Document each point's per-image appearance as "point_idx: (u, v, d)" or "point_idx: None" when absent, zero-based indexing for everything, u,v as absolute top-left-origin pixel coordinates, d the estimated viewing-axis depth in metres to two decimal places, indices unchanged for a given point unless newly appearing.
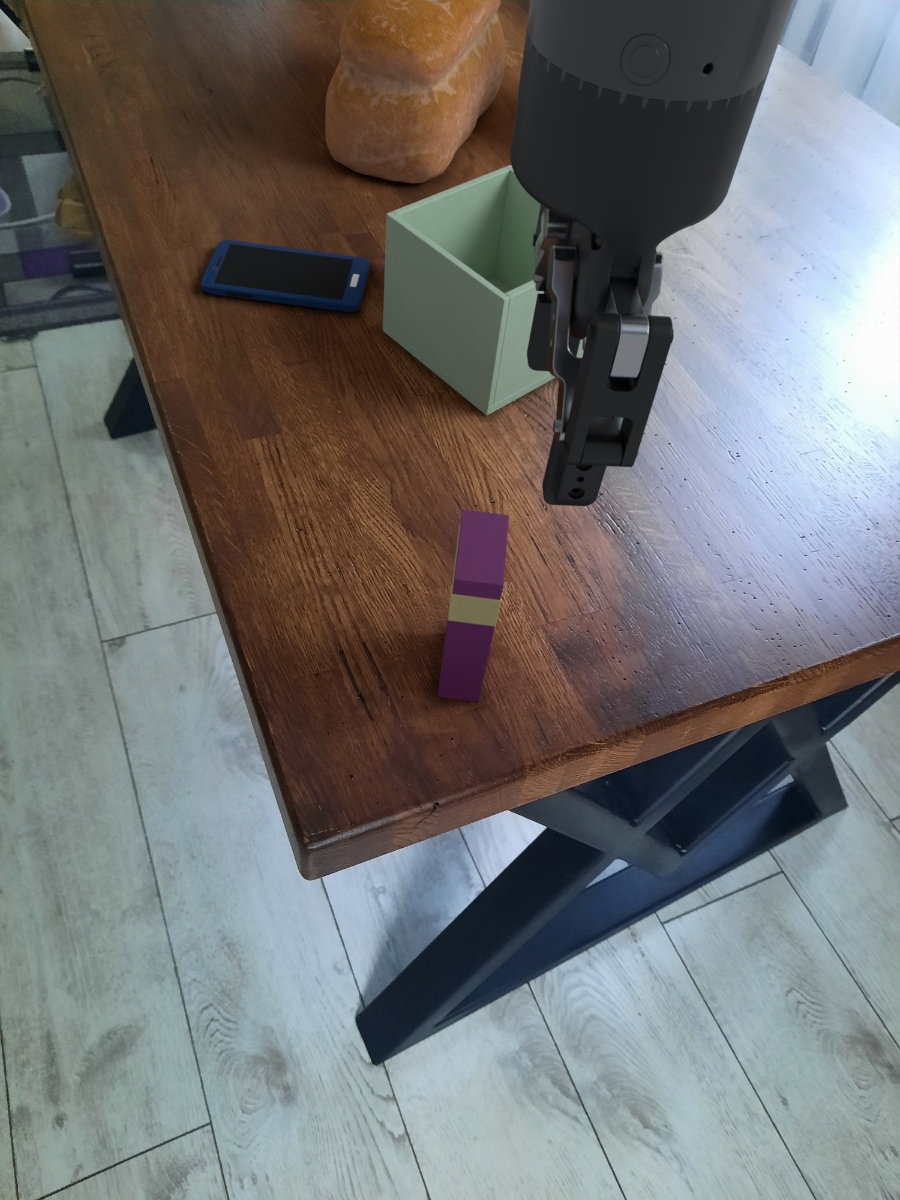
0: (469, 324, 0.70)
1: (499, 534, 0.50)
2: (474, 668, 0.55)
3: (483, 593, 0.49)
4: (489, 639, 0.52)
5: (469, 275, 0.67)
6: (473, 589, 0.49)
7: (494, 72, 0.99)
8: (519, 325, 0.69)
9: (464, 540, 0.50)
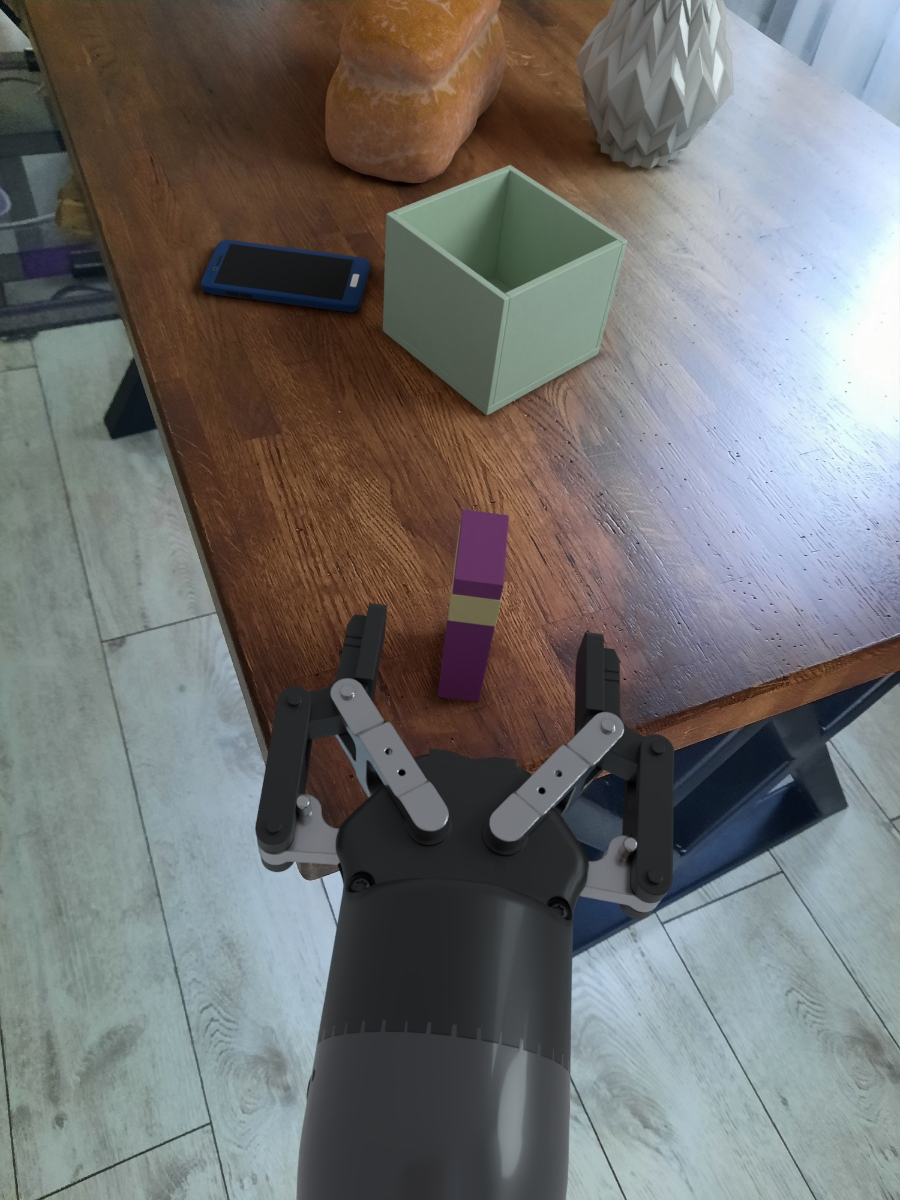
0: (469, 324, 0.70)
1: (499, 534, 0.50)
2: (474, 668, 0.55)
3: (483, 593, 0.49)
4: (489, 639, 0.52)
5: (469, 275, 0.67)
6: (473, 589, 0.49)
7: (494, 72, 0.99)
8: (519, 325, 0.69)
9: (464, 540, 0.50)
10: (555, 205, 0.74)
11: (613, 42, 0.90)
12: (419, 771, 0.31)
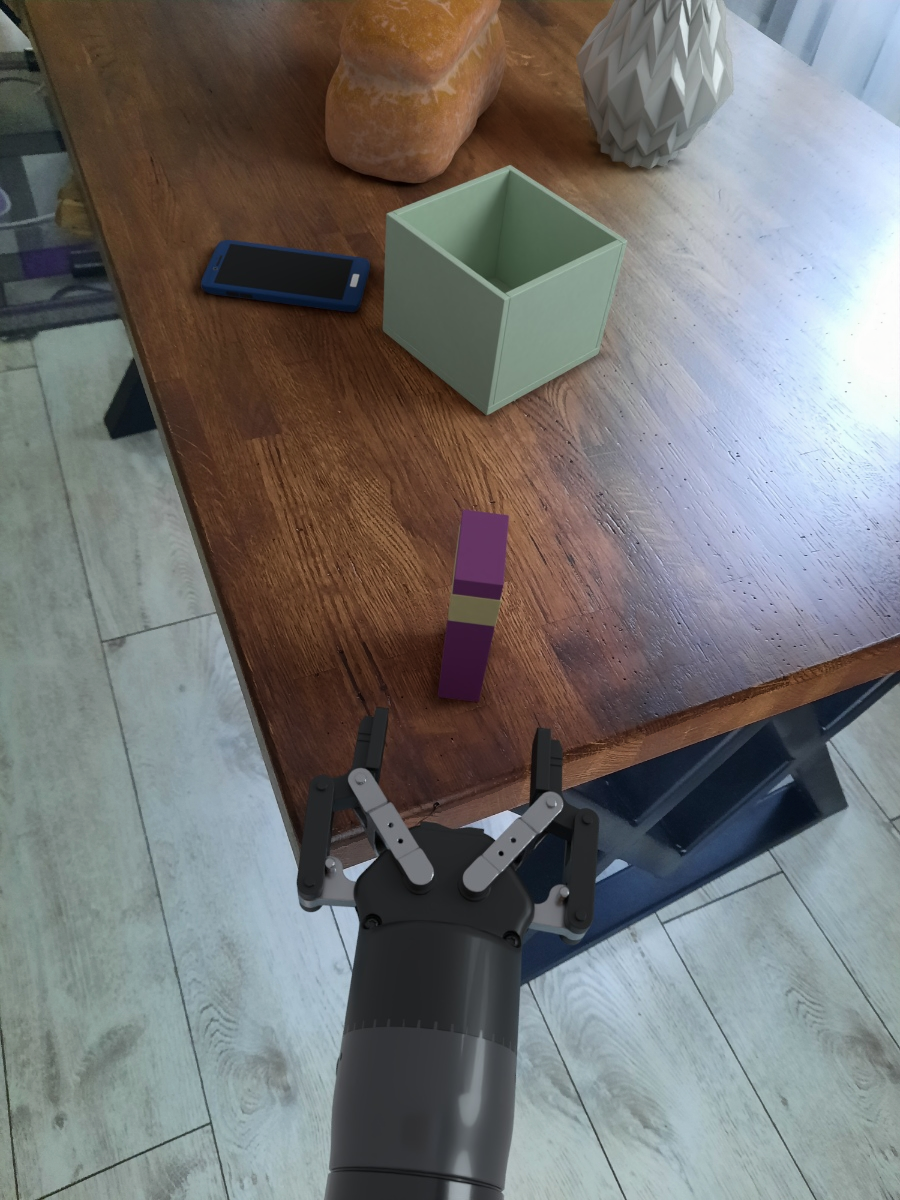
0: (469, 324, 0.70)
1: (499, 534, 0.50)
2: (474, 668, 0.55)
3: (483, 593, 0.49)
4: (489, 639, 0.52)
5: (469, 275, 0.67)
6: (473, 589, 0.49)
7: (494, 72, 0.99)
8: (519, 325, 0.69)
9: (464, 540, 0.50)
10: (555, 205, 0.74)
11: (613, 42, 0.90)
12: (413, 840, 0.43)
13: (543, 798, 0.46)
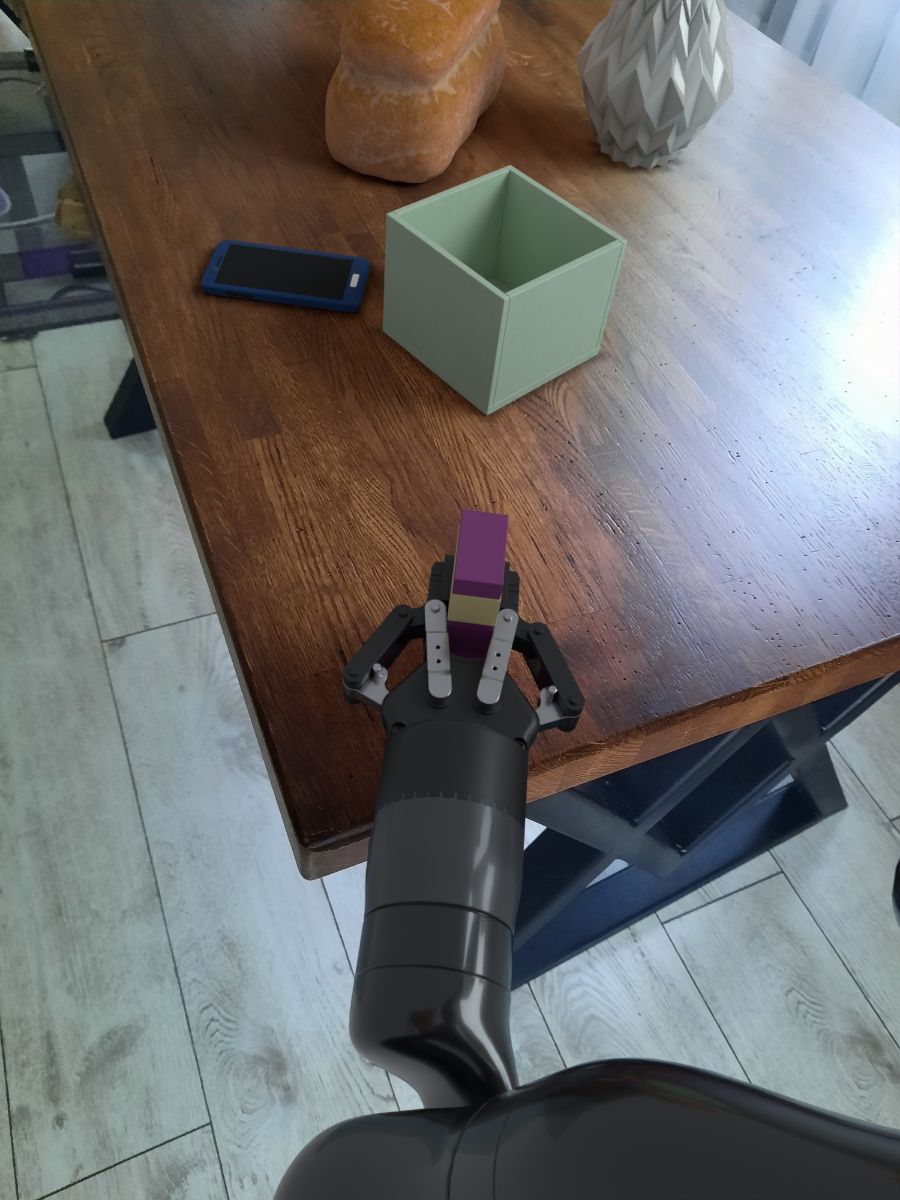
0: (469, 324, 0.70)
1: (499, 534, 0.50)
2: None
3: (483, 593, 0.49)
4: (489, 639, 0.52)
5: (469, 275, 0.67)
6: (473, 589, 0.49)
7: (494, 72, 0.99)
8: (519, 325, 0.69)
9: (463, 540, 0.50)
10: (555, 205, 0.74)
11: (613, 42, 0.90)
12: (448, 665, 0.50)
13: (501, 613, 0.53)
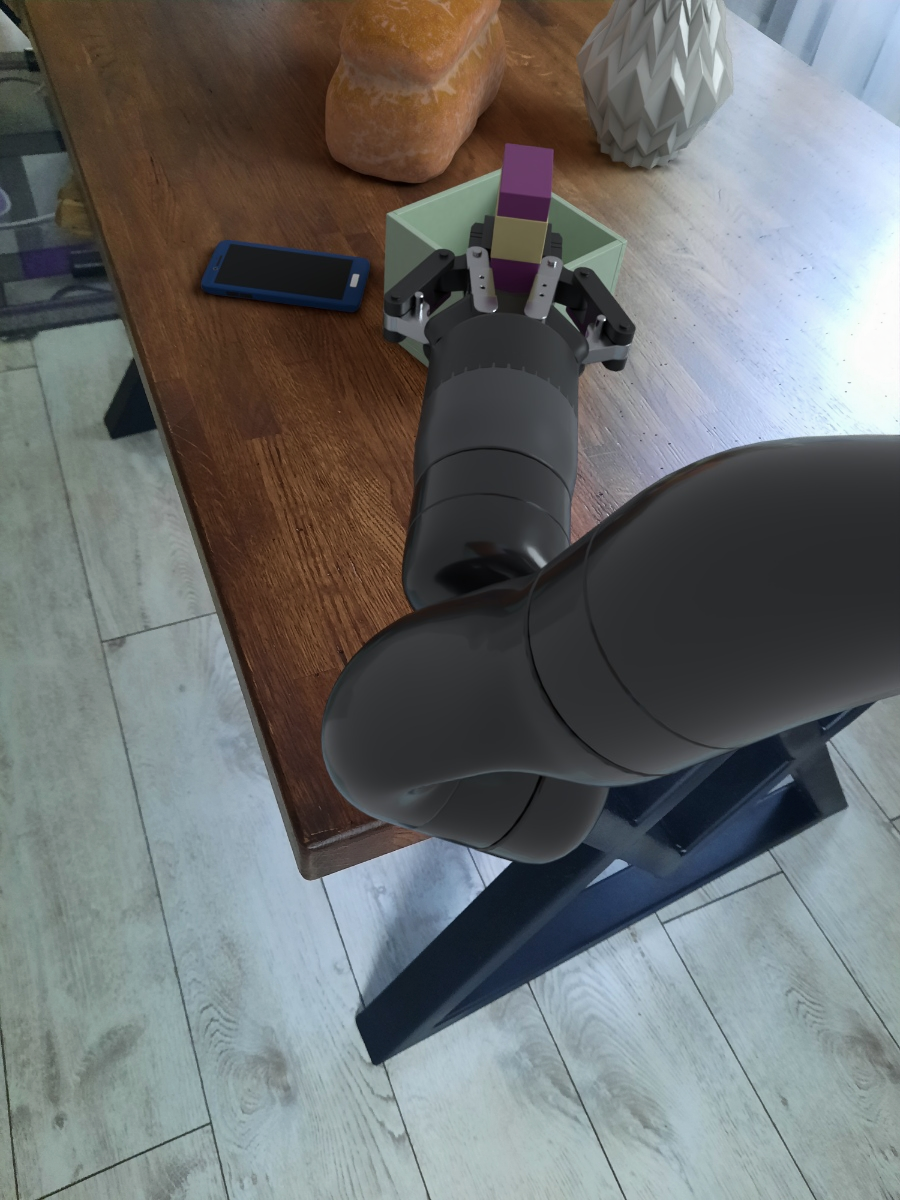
0: None
1: (544, 162, 0.49)
2: None
3: (529, 212, 0.47)
4: None
5: None
6: (519, 207, 0.47)
7: (494, 72, 0.99)
8: None
9: (508, 164, 0.48)
10: (555, 205, 0.74)
11: (613, 42, 0.90)
12: (493, 290, 0.48)
13: (545, 259, 0.51)
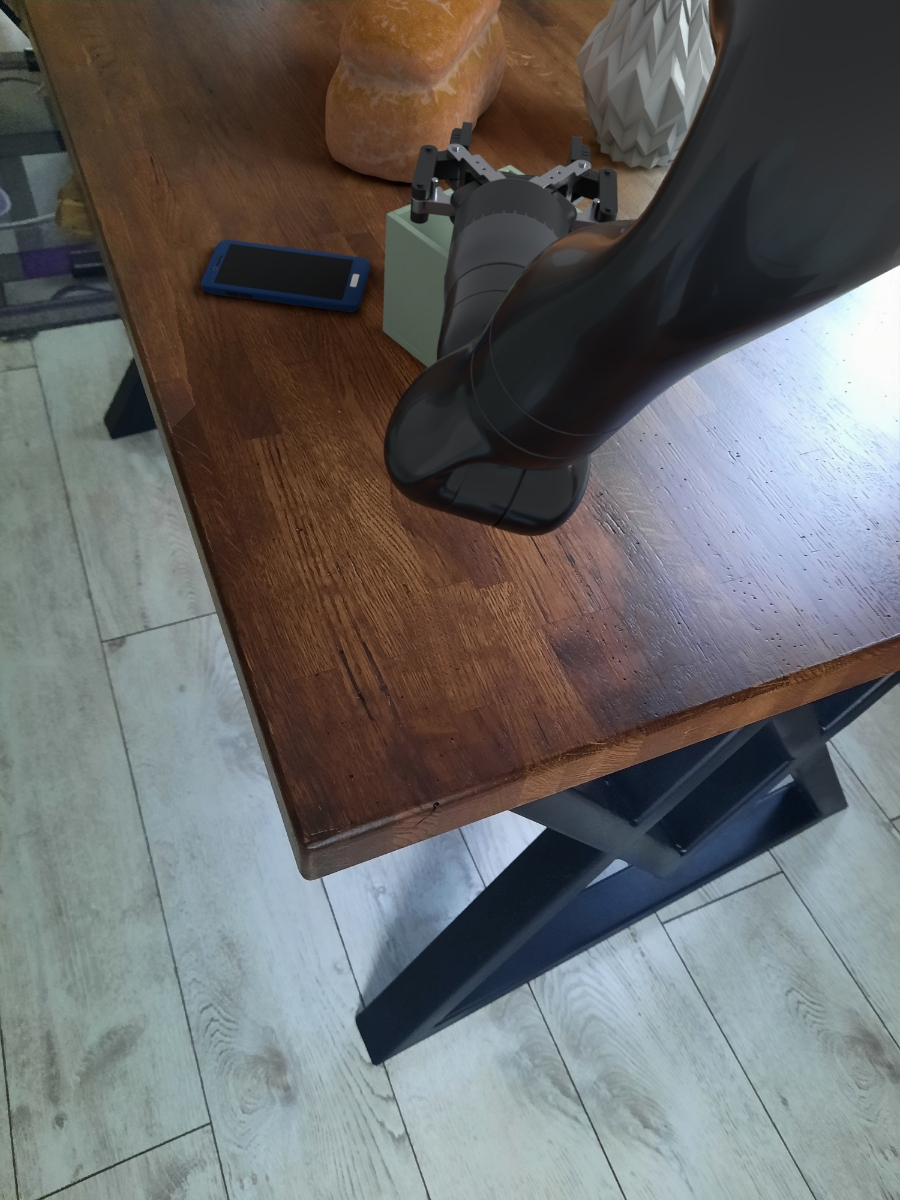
0: None
1: None
2: None
3: None
4: None
5: None
6: None
7: (494, 72, 0.99)
8: None
9: None
10: None
11: (613, 42, 0.90)
12: (492, 169, 0.62)
13: (577, 162, 0.64)
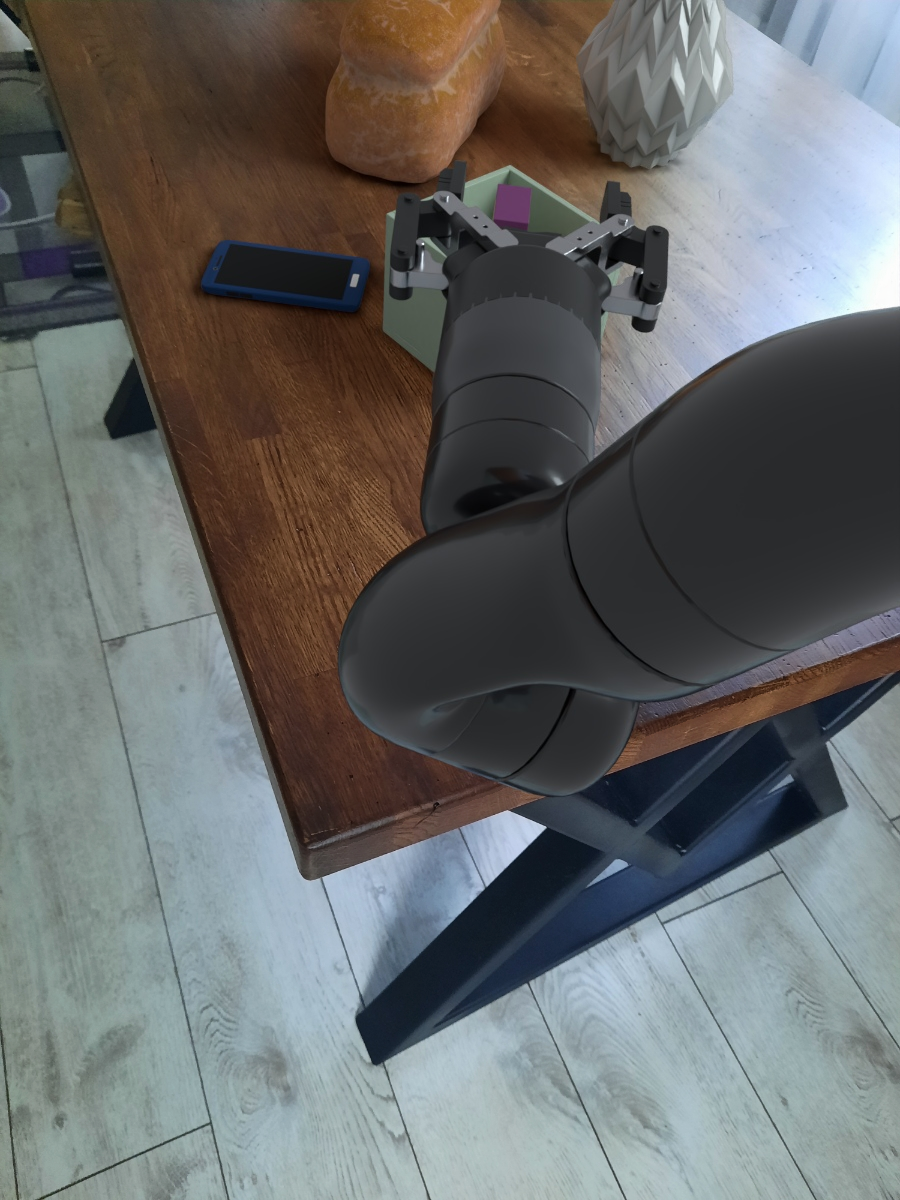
0: None
1: (525, 197, 0.70)
2: None
3: None
4: None
5: None
6: None
7: (494, 72, 0.99)
8: None
9: (499, 199, 0.69)
10: (555, 205, 0.74)
11: (613, 42, 0.90)
12: (497, 226, 0.46)
13: (615, 217, 0.49)
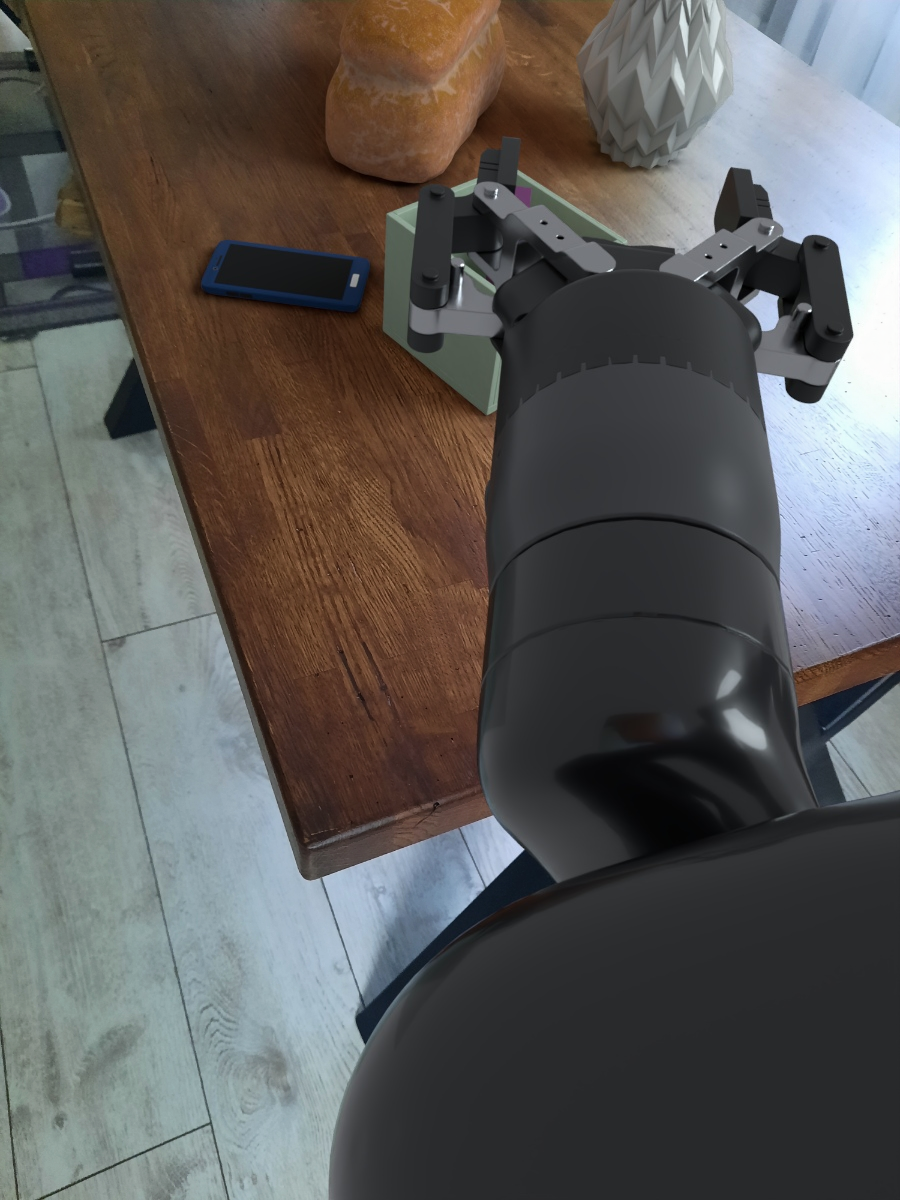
0: None
1: (525, 197, 0.70)
2: None
3: None
4: None
5: (469, 275, 0.67)
6: None
7: (494, 72, 0.99)
8: None
9: None
10: (555, 205, 0.74)
11: (613, 42, 0.90)
12: (578, 237, 0.29)
13: (754, 223, 0.32)
